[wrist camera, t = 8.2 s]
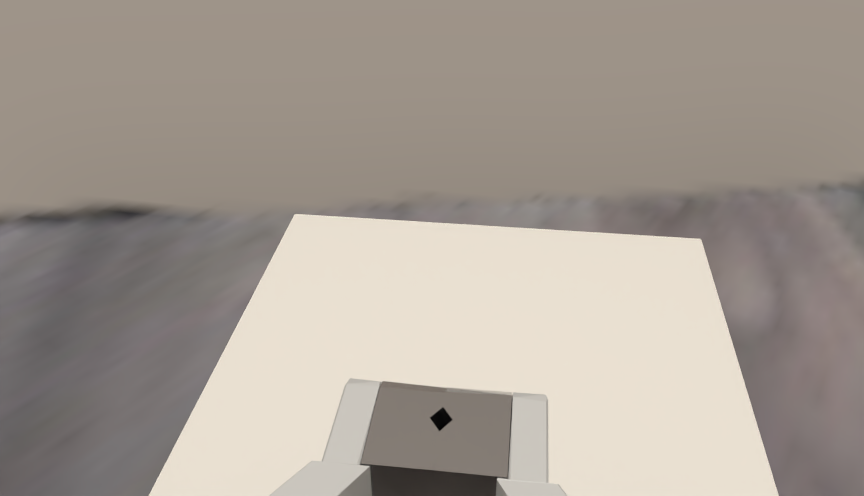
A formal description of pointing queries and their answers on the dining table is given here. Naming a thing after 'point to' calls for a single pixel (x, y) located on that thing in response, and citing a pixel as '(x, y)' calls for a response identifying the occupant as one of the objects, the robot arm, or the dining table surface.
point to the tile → (484, 354)
